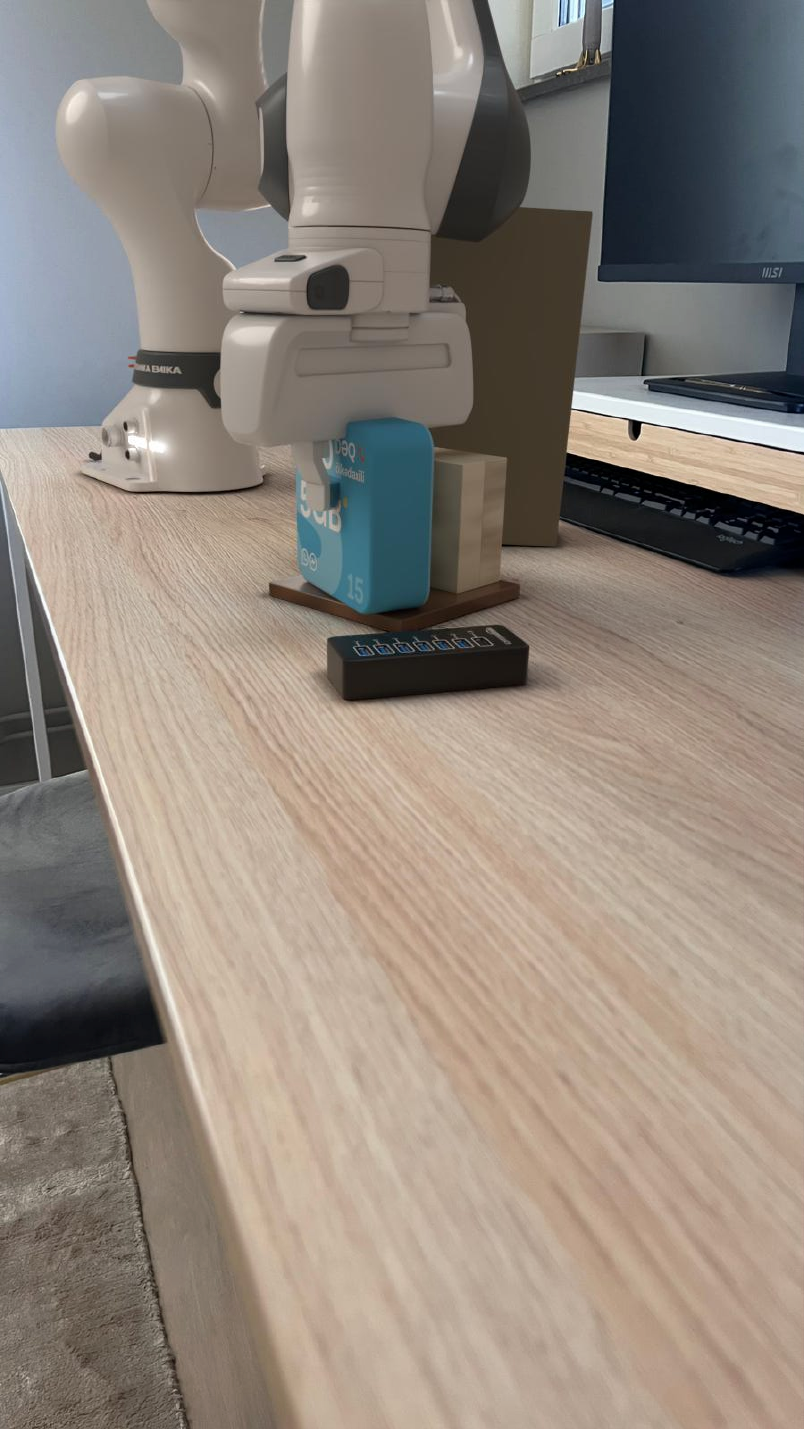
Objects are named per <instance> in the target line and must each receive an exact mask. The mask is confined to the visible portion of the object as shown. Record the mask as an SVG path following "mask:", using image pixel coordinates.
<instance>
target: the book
mask: <svg viewBox="0 0 804 1429" xmlns="http://www.w3.org/2000/svg"><path fill="white" fill-rule="evenodd" d="M593 213H594V212H593V211H591V210H577V209H576V210H575V209H559V208H558V209H557V208H541V207H528V206H527V207H526V206H525V207H523V206H520V207H519V208H518V209H517V210H516V212H515V213H514V214H513V215H512V216H511V217H510V218H509V219H508V220H507V221H506V222H505V223H504V224H503V225H502V226H501V227H499V228H498V229H497V230H496V231H494V232H493V233H492V234H490V235H489V236H487V237H486V238H485V239H483V240H482V241H480V242H478V243H476V242H469V241H462V240H454V239H446V238H438V237H435V235H431V257H430V285H431V286H436V285H440V284H444V285H448V286H451V287H452V288H453V289H454V292H455V293H456V294H457V295H458V296H459V298H460V300H461V302H462V303H463V304H464V305H465V310H466V323H467V326H468V329H469V333H470V339H471V349H472V365H473V407H472V410H471V412H470V414H469V416H468V418H467V420H466V422H465V423H463V424H458V425H450V426H441V427H433V428H428V430H429V431H430V433H431V436H432V439H433V443H434V447H438V448H445V449H451V450H458V451H465V452H472V453H479V454H486V455H492V456H499V457H506V458H507V466H506V483H505V500H504V516H503V533H502V545H513V546H532V547H535V546H536V547H555V548H556V547H557V541H558V534H559V526H560V516H561V508H562V498H563V489H564V480H565V470H566V463H567V462H566V461H567V454H568V444H569V434H570V425H571V415H572V407H573V396H574V391H575V381H576V371H577V363H578V353H579V345H580V344H579V343H580V336H581V335H580V334H581V325H582V316H583V306H584V300H585V299H584V298H585V290H586V288H585V287H586V279H587V271H588V261H589V253H590V244H591V234H592V226H593V217H594V216H593V215H594V214H593ZM429 302H436V301H429ZM448 302H455V301H454V300H453V299H452V300H451V301H448Z"/></svg>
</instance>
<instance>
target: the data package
mask: <svg viewBox="0 0 804 1429" xmlns="http://www.w3.org/2000/svg"><path fill="white" fill-rule="evenodd" d="M322 460H323V463H324V465H325V468H326V470H327V473H328V475H329V478H330V480H331V481H334V482H339V483H340V495H339V498H340V505H339V508H337V509H333V510H328V511H323V512H319V511H314V510H310V509H309V508H308V507H307V505H306V482H304V480H303V478H302V477H301V475H300V473H299V471H298V469H297V467H296V466H295V479H296V480H295V495H296V496H295V497H296V498H295V500H296V550H297V551H296V552H297V554H296V555H297V556H296V557H297V563H298V568H299V571H300V575H302V576H303V577H304V579H305V580H306V581H308V582H309V583H311V584H313V585H314V586H316V587H318V588H319V589H321V590H323V591H324V592H326V593H328V594H329V595H331V596H333V597H334V598H336V599H338V600H339V601H341V602H342V603H344V604H346V605H347V606H349V607H351V608H352V609H354V610H356V611H357V612H359V613H361V614H371V613H379V612H386V611H394V610H401V609H409V608H416V607H421V606H423V605H424V604H425V603H426V601H427V599H428V596H429V591H430V566H431V537H432V507H433V478H434V443H433V439H432V436H431V433H430V431H429V430H428V428H427V427H426V426H425V425H423V424H421V423H417V422H413V421H409V420H405V419H401V418H396V417H392V418H382V419H373V420H363V421H354V422H348V424H347V427H346V436H345V438H342V439H333V440H329V456H328V458H322Z"/></svg>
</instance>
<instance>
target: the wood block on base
mask: <svg viewBox="0 0 804 1429" xmlns="http://www.w3.org/2000/svg"><path fill="white" fill-rule="evenodd" d="M506 466H507V458H506V457H499V456H492V455H486V454H479V453H472V452H465V451H458V450H451V449H445V448H438V447H434V478H433V507H432V537H431V566H430V591H429V596H428V599H427V601H426V603H425V604H424V605H423V606H421V607H416V608H409V609H401V610H394V611H386V612H379V613H371V614H361V613H359V612H357V611H356V610H354V609H352V608H351V607H349V606H347V605H346V604H344V603H342V602H341V601H339V600H338V599H336V598H334V597H333V596H331V595H329V594H328V593H326V592H324V591H323V590H321V589H319V588H318V587H316V586H314V585H313V584H311V583H309V582H308V581H306V580H305V579H304V577H303V576H302V574H298V575H294V576H289V577H285V578H281V579H277V580H274V581H273V580H272V581H269V582H268V595H269V596H271V597H274V598H278V599H281V600H284V601H287V602H290V603H294V604H297V605H301V606H304V607H308V608H311V609H314V610H317V611H321V612H324V613H327V614H331V615H334V616H338V617H341V618H344V619H347V620H351V621H354V622H357V623H360V624H363V625H367V626H371V627H374V628H377V629H381V630H384V631H387V632H402V631H415V630H422V629H424V628H428V627H431V626H434V625H436V624H440V623H442V622H446V621H449V620H453V619H455V618H459V617H462V616H464V615H468V614H471V613H474V612H477V611H481V610H484V609H486V608H490V607H493V606H496V605H499V604H502V603H505V602H509V601H512V600H515V599H518V598H520V590H521V585H520V584H519V583H515V582H511V581H507V580H503V579H501V563H502V547H503V546H502V545H503V544H502V533H503V516H504V500H505V483H506Z"/></svg>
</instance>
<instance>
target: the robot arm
mask: <svg viewBox="0 0 804 1429" xmlns="http://www.w3.org/2000/svg"><path fill="white" fill-rule="evenodd" d="M266 1H267V0H146V1H145V2H146V3H147V6H148V8H149V10H150V13H151V14H152V16H153V18H154V19H155V20H156V22H157V23H158V24H159V25H160V26H161V27H162V29H163V30H164V31H165V32H166V33H167V34H168V35H169V36H170V37H172V39H173V40H175V41H176V42H177V43H178V45H179V48H180V52H181V57H182V80H181V84H176V83H170V82H163V81H159V80H152V79H146V78H140V77H135V76H128V75H113V76H112V75H111V76H100V77H99V76H98V77H90V78H83V79H78V80H76V81H75V82H73V83H72V85H70V87H69V88H68V89H67V91H66V92H65V94H64V95H63V97H62V98H61V101H60V103H59V106H58V108H57V112H56V118H55V127H54V133H55V142H56V148H57V152H58V155H59V158H60V161H61V163H62V165H63V167H64V169H65V172H66V173H67V174H68V176H69V178H70V179H71V181H73V183H74V185H75V186H77V187H78V188H79V189H80V190H81V191H82V192H83V193H85V194H86V195H87V196H88V198H90V199H91V200H92V201H93V202H94V203H95V204H96V205H97V207H99V209H100V210H101V212H102V213H103V214H104V215H105V218H107V220H108V221H109V223H110V224H111V226H112V228H113V230H114V232H115V233H116V235H117V237H118V239H119V241H120V243H121V245H122V247H123V250H124V252H125V255H126V257H127V261H128V264H129V267H130V271H131V276H132V281H133V287H134V288H133V289H134V294H135V303H136V311H137V321H138V330H139V343H140V344H139V346H140V348H139V349H138V350H137V352H136V356H135V355H133V356H132V355H131V356H127V357H126V359H127V360H134V362H133V363H131V364H128V365H127V367H128V368H133V372H132V379H131V382H132V383H133V386H132V387H131V389H130V390H129V391H128V392H127V393H126V395H125V396H124V397H123V398H122V399H121V401H119V402H118V404H117V405H116V406H115V407H114V409H113V410H111V411H110V413H108V415H107V416H106V417H105V418H104V419H103V421H102V423H101V426H100V448H101V449H100V453H97V452H94V451H89V453H88V458H89V459H90V460H93V461H89V462H87V463H83V464H82V465H81V473H82V474H83V475H87V476H88V477H91V478H94V479H97V480H99V481H101V482H104V483H107V484H110V485H112V486H114V487H117V488H119V489H122V490H125V491H127V492H138V493H139V492H140V493H141V492H180V493H181V492H183V493H185V492H188V493H190V492H191V493H198V492H199V493H201V492H202V493H203V492H222V491H231V490H232V491H233V490H239V489H247V488H251V487H255V486H258V485H260V484H262V483H263V482H264V478H263V477H264V476H266V474H267V471H266V465H265V464H261V458H260V451H259V447H260V448H274V447H282V446H290V458H291V459H292V461H293V463H294V465H295V468H296V467H297V469H298V471H299V473H300V475H301V477H302V478H303V480H304V482H306V505H307V507H308V508H309V509H310V510H314V511H319V512H323V511H328V510H333V509H337V508H339V505H340V498H339V495H340V483H339V482H334V481H331V480H330V478H329V475H328V473H327V470H326V468H325V465H324V463H323V460H322V458H328V456H329V440H333V439H342V438H345V436H346V427H347V424H348V422H354V421H363V420H373V419H382V418H392V417H396V418H401V419H405V420H409V421H413V422H417V423H421V424H423V425H425V426H426V427H427V428H433V427H441V426H450V425H458V424H463V423H465V422H466V420H467V418H468V416H469V414H470V412H471V410H472V407H473V365H472V349H471V339H470V333H469V329H468V326H467V323H466V310H465V305H464V304H463V303H462V302H461V300H460V298H459V296H458V295H457V294H456V293H455V292H454V289H453V288H452V287H451V286H448V285H444V284H440V285H436V286H431V285H430V257H431V235H435V237H438V238H446V239H454V240H462V241H469V242H476V243H478V242H480V241H482V240H483V239H485V238H486V237H487V236H489V235H490V234H492V233H493V232H494V231H496V230H497V229H498V228H499V227H501V226H502V225H503V224H504V223H505V222H506V221H507V220H508V219H509V218H510V217H511V216H512V215H513V214H514V213H515V212H516V210H517V209H518V208H519V207H521V206H522V204H523V202H524V200H525V199H526V198H525V197H526V195H527V191H528V188H529V184H530V177H531V176H530V175H531V164H532V161H531V160H532V146H531V134H530V127H529V123H528V119H527V115H526V111H525V108H524V106H523V103H522V101H521V99H520V96H519V94H518V92H517V90H516V87H515V85H514V83H513V81H512V78H511V76H510V74H509V71H508V69H507V66H506V63H505V60H504V56H503V52H502V48H501V45H500V42H499V41H500V40H499V37H498V33H497V29H496V26H495V21H494V19H493V14H492V11H491V6H490V3H489V0H293V7H292V13H291V14H292V15H291V24H290V34H289V43H288V44H289V45H288V47H289V48H288V58H287V71H286V72H284V73H283V74H282V75H281V76H280V77H279V78H278V79H276V80H275V81H274V82H273V83H272V84H271V85H270V86H269V80H268V76H267V72H266V67H265V60H264V47H263V37H264V36H263V32H264V19H265V9H266ZM268 207H269V208H270V207H271V208H272V209H273V210H274V211H275V212H276V213H277V214H278V215H279V216H280V217H282V219H284V220H285V221H286V222H287V226H288V227H287V233H288V235H287V236H288V239H287V242H288V243H287V244H288V248H284V249H281V250H278V251H276V252H275V253H272V254H270V255H267V256H265V257H263V258H260V259H258V260H256V261H253V262H251V263H248V264H246V265H244V266H241V267H238V268H236V266H235V265H234V264H233V263H232V262H231V261H230V260H229V259H228V258H227V257H225V255H223V254H221V253H219V252H218V251H217V250H215V249H214V248H213V247H212V246H211V245H210V243H209V242H208V241H207V239H206V237H205V236H204V234H203V232H202V229H201V226H200V224H199V221H198V218H197V213H196V210H204V211H217V212H228V213H229V212H230V213H242V212H248V211H254V210H259V209H264V208H268ZM452 299H453V300H454V301H455V302H448V301H451V300H452ZM429 301H436V302H429Z"/></svg>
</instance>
